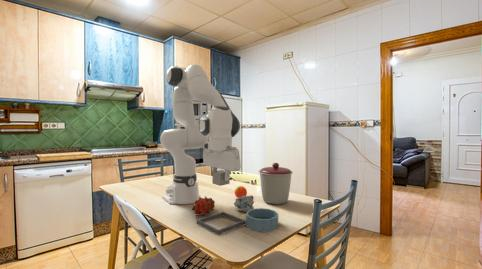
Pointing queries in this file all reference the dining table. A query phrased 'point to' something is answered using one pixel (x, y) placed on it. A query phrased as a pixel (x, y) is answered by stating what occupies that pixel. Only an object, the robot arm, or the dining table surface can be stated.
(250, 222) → the bowl
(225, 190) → the dining table surface
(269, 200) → the canister
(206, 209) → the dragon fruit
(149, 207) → the dining table surface
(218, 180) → the pebble block
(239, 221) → the tray
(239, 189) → the clementine
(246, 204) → the mineral specimen
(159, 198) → the dining table surface
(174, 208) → the dining table surface
